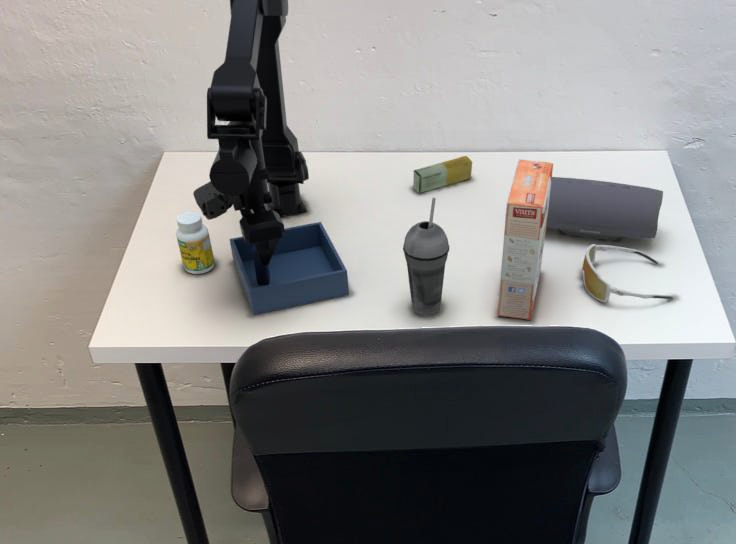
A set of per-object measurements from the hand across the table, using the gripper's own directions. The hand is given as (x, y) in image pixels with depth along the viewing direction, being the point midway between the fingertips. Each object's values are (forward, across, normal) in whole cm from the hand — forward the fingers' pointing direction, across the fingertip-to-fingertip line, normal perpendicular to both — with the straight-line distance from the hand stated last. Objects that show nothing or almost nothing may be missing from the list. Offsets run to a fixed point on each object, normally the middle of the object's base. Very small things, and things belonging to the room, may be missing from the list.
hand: (259, 250), depth 147 cm
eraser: (+6, 0, 0) cm, 7 cm away
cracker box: (+7, +18, +40) cm, 44 cm away
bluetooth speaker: (+7, +5, +60) cm, 60 cm away
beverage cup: (+7, +16, +24) cm, 29 cm away
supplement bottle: (+7, -9, -10) cm, 15 cm away
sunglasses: (+7, +21, +58) cm, 62 cm away
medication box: (+7, -21, +40) cm, 46 cm away
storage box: (+7, 0, +4) cm, 8 cm away
